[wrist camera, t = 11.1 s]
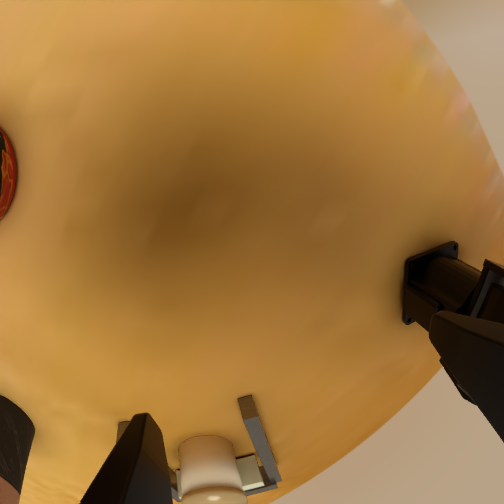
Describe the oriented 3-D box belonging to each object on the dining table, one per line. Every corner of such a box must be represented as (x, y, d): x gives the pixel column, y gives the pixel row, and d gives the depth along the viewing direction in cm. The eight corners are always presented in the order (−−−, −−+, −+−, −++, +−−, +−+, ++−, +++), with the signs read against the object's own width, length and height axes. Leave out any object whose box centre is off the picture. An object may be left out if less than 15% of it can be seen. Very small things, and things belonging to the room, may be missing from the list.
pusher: (254, 454, 26) (262, 481, 23) (263, 474, 28) (271, 498, 25) (176, 470, 25) (178, 497, 22) (193, 489, 27) (197, 512, 24)
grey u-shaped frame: (251, 394, 23) (259, 420, 21) (277, 466, 29) (283, 486, 26) (118, 422, 22) (115, 447, 19) (178, 487, 27) (180, 507, 24)
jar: (225, 429, 24) (238, 488, 18) (240, 456, 27) (254, 508, 20) (167, 440, 24) (171, 499, 17) (189, 467, 26) (195, 518, 20)
